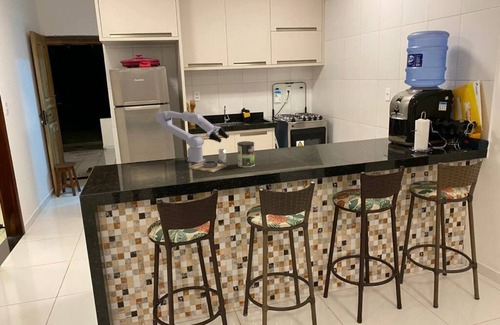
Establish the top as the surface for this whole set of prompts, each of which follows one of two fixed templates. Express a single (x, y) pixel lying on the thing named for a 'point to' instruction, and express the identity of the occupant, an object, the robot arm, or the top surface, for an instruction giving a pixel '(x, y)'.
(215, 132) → the robot arm
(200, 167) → the birch board
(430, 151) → the top surface
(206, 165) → the steel ring
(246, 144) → the coffee can
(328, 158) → the top surface
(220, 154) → the aluminium piston
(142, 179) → the top surface
